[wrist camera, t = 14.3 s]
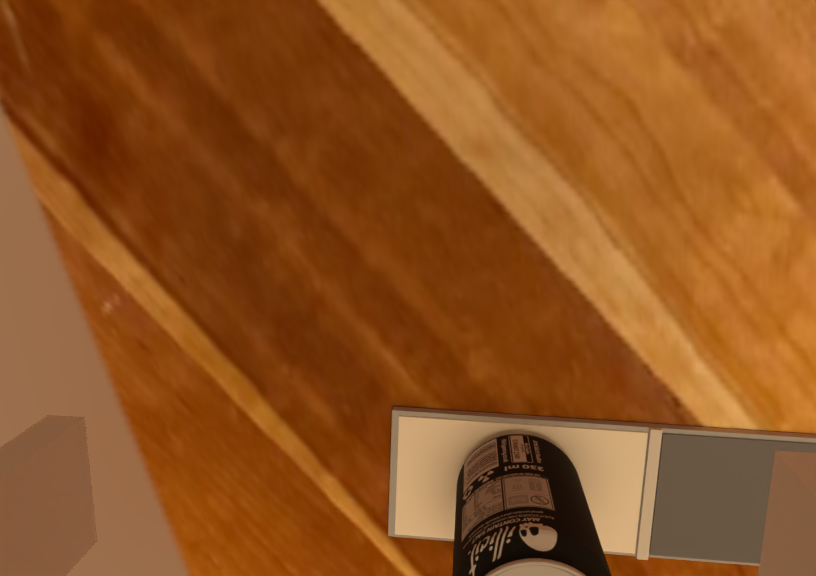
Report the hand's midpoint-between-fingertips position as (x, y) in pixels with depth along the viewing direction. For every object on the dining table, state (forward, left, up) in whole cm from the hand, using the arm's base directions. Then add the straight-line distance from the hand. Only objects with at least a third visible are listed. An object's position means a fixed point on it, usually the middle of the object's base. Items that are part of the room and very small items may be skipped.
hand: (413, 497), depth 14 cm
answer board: (+11, +11, -25) cm, 29 cm away
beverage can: (+11, +4, -24) cm, 27 cm away
